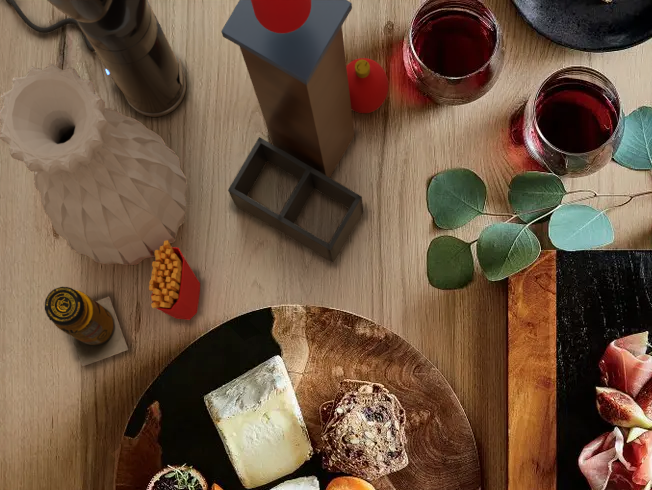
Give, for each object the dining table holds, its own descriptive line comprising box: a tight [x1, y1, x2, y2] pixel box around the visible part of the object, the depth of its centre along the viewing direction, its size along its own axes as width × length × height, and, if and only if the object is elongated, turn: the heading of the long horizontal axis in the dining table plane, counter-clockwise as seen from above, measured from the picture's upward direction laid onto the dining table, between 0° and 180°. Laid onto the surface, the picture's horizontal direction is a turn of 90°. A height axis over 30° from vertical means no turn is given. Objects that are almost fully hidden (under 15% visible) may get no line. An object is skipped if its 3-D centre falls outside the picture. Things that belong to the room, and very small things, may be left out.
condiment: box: [44, 286, 129, 367], centre depth 116 cm, size 7×8×12 cm
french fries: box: [148, 240, 201, 321], centre depth 116 cm, size 9×4×13 cm, turn 173°
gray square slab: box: [221, 0, 353, 85], centre depth 91 cm, size 11×10×1 cm
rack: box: [227, 136, 365, 264], centre depth 119 cm, size 17×9×6 cm, turn 60°
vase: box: [0, 63, 188, 266], centre depth 107 cm, size 20×20×30 cm
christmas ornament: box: [346, 57, 389, 114], centre depth 117 cm, size 7×7×10 cm
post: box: [239, 25, 355, 178], centre depth 107 cm, size 9×8×30 cm
